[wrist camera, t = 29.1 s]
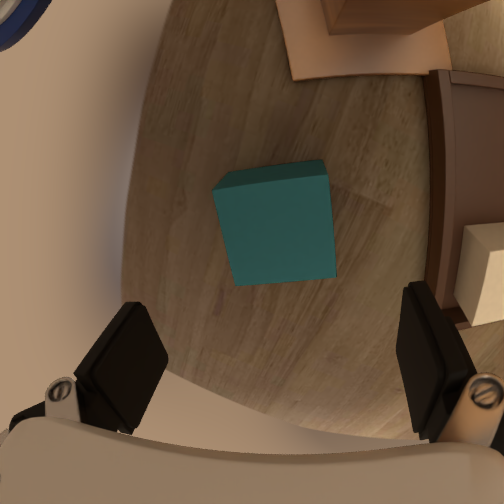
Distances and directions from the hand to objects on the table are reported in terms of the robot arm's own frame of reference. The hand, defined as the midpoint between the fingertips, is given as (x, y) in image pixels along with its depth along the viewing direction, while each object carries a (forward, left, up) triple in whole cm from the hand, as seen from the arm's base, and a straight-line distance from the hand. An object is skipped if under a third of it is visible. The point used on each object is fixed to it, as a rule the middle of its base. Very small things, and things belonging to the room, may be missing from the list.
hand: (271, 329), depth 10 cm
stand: (+7, +13, -11) cm, 19 cm away
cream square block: (+16, -5, -11) cm, 20 cm away
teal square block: (0, 0, -11) cm, 11 cm away
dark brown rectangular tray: (+16, -1, -11) cm, 19 cm away
